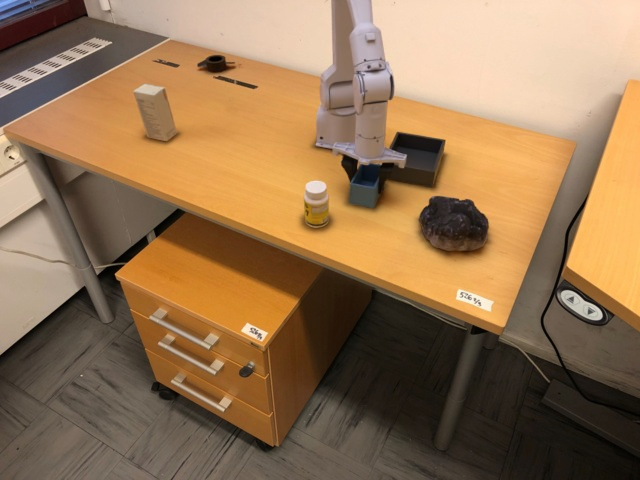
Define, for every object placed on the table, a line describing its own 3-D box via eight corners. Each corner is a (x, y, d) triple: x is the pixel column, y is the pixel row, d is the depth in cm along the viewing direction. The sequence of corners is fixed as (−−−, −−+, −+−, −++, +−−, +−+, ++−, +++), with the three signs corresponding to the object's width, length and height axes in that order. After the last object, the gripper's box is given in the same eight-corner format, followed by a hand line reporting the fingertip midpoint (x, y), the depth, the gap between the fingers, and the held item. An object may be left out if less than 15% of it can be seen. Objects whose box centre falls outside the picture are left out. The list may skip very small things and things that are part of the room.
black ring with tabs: (211, 60, 158) (209, 51, 156) (238, 66, 154) (236, 57, 153) (195, 70, 153) (193, 60, 151) (223, 76, 150) (221, 67, 148)
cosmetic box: (177, 133, 127) (166, 87, 118) (166, 142, 124) (155, 95, 116) (156, 128, 129) (144, 82, 120) (145, 136, 126) (132, 90, 118)
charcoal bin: (381, 177, 112) (382, 162, 109) (395, 146, 121) (396, 131, 118) (432, 187, 109) (435, 172, 106) (443, 154, 118) (445, 139, 116)
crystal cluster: (441, 204, 106) (442, 164, 99) (504, 226, 99) (510, 185, 92) (405, 242, 99) (404, 202, 93) (470, 269, 92) (474, 228, 85)
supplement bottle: (304, 213, 104) (302, 179, 98) (327, 212, 104) (327, 178, 98) (305, 229, 100) (304, 195, 94) (329, 227, 100) (329, 193, 95)
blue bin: (373, 208, 104) (375, 188, 101) (349, 203, 106) (349, 183, 102) (384, 184, 110) (385, 165, 107) (360, 180, 111) (361, 160, 108)
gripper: (327, 135, 97) (327, 192, 106) (403, 148, 93) (396, 207, 102) (339, 117, 102) (338, 173, 111) (411, 129, 98) (404, 186, 107)
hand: (367, 188), depth 107 cm, fingers closed on blue bin, 5 cm apart
